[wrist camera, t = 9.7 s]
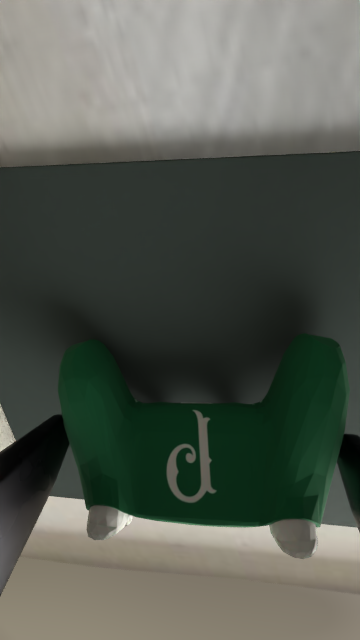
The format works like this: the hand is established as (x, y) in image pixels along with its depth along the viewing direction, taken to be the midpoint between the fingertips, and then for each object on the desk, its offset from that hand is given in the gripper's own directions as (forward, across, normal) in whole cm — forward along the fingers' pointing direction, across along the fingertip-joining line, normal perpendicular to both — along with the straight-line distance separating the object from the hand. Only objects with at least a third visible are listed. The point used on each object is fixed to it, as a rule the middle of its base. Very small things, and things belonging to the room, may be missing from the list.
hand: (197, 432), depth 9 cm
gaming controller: (+2, 0, 0) cm, 2 cm away
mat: (+2, 0, 0) cm, 2 cm away
